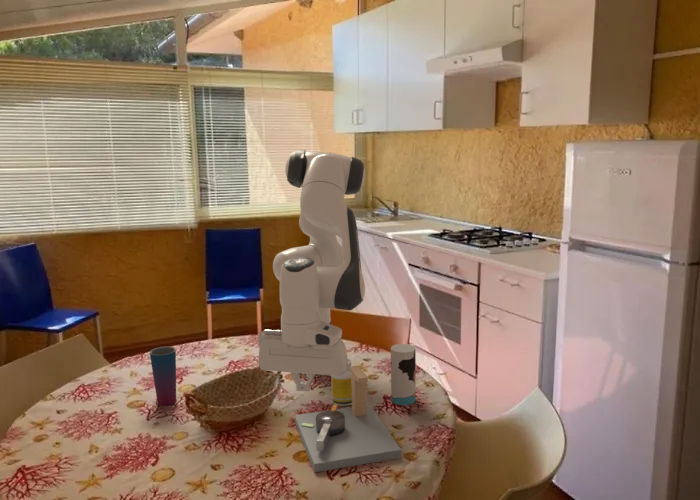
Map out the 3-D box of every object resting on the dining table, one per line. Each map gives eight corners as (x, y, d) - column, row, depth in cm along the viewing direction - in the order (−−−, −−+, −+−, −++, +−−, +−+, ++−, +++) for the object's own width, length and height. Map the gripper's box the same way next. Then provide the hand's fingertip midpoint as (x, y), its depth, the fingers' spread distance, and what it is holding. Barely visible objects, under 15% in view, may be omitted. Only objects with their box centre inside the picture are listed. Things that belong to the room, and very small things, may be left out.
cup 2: (419, 402, 159) (419, 350, 157) (397, 406, 157) (397, 353, 154) (409, 393, 165) (408, 342, 163) (387, 397, 163) (386, 345, 160)
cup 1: (159, 409, 158) (155, 357, 156) (150, 401, 163) (145, 350, 161) (183, 402, 162) (179, 350, 160) (173, 394, 168) (169, 344, 165)
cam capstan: (322, 415, 149) (321, 403, 148) (349, 417, 147) (349, 405, 147) (305, 453, 131) (304, 439, 130) (335, 455, 130) (335, 441, 129)
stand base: (294, 422, 149) (292, 373, 147) (369, 411, 155) (368, 364, 152) (314, 472, 127) (312, 415, 124) (401, 457, 132) (401, 403, 129)
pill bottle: (352, 407, 157) (351, 366, 155) (329, 406, 158) (328, 365, 156) (357, 397, 163) (356, 358, 161) (334, 395, 165) (333, 356, 163)
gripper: (252, 333, 129) (255, 392, 132) (341, 338, 124) (343, 399, 127) (263, 324, 135) (266, 381, 138) (348, 329, 130) (350, 388, 133)
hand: (303, 390), depth 132 cm, fingers closed
